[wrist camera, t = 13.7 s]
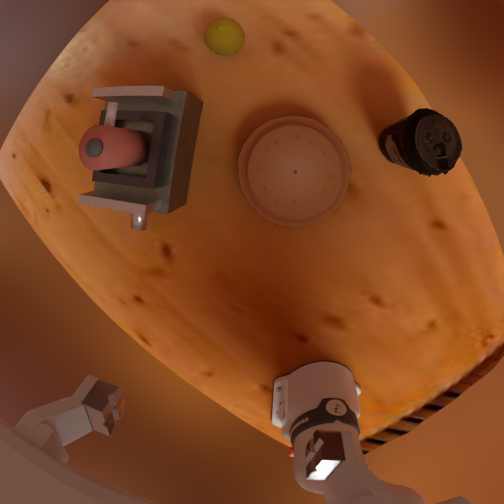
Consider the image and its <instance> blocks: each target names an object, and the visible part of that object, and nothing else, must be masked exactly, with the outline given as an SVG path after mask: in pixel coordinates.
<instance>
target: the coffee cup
mask: <svg viewBox="0 0 504 504" xmlns="http://www.w3.org/2000/svg"><path fill="white" fill-rule="evenodd" d="M379 146H380V150H381V152H382V154H383V155H384V156H385V158H386V159H387V160H389V161H390V162H392V163H396V164H398V165H401V166H403V167H406V168H409V169H412V170H415V171H418V172H419V174H424V175H427V176H429V177H430V176H431V175H439V174H441V173H442V172H443V173H444V174H447V173H448V171H449V170H451V169H452V168H454V166H455V163H456V161H457V160H458V158H459V157H460V154H461V151H462V144H461V139H460V136H459V133H458V131H457V129H456V127H455V126H454V124H453V123H452V122H451V121H450V120H448V118H446V117H444V116H443V115H441V114H440V113H438V112H436V111H434V110H431V109H428V108H425V109H418V110H416V111H415V112H414V113H412V114H411V115H410V116H408V117H406V118H403V119H401V120H399V121H397V122H395V123H394V124H391V125H389V126H388V127H387V128H385V129H384V130H383V132H382V133H381V135H380V137H379Z"/></svg>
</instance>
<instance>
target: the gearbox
mask: <svg viewBox="0 0 504 504" xmlns="http://www.w3.org/2000/svg"><path fill="white" fill-rule="evenodd" d="M91 97H93V98H97V99H101V100H105V101H106V105H105V110H104V111H101V117H100V122H99V125H103V126H104V123H105V117H106V112H107V106H108V102H117V103H119V104H118V109H117V114H116V120H115V126H114V127H118V128H125V129H132V130H138V131H142V132H144V133H145V134H146V135H147V136H148V138H149V140H150V143H151V146H150V152H149V156H148V158H147V159H146V161H145V162H143V163H142V164H140V165H138V166H131V167H121V168H112V169H103V170H93V178H92V181H95V188H94V191H91V192H87V193H83V194H79V204H83V205H88V206H94V207H100V208H105V209H111V210H117V211H122V212H128V213H132V218H131V229H133V230H145V229H146V224H147V214H149V213H151V212H154V211H155V212H161V213H166V214H168V213H170V212H172V211H174V210H176V209H178V208H180V207H181V206H183V205H185V204H186V201H187V194H188V187H189V180H190V174H191V167H192V161H193V155H194V149H195V143H196V138H197V132H198V127H199V122H200V116H201V111H202V106H203V102H202V101H201V100H199V99H198V98H197V97H195V96H194V95H193V94H191V93H190V92H188V91H181V90H170V89H169V88H167V87H166V86H116V87H99V88H93V91H92V96H91Z"/></svg>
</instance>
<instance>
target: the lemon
mask: <svg viewBox="0 0 504 504" xmlns="http://www.w3.org/2000/svg"><path fill="white" fill-rule="evenodd" d="M204 38H205V42H206V44H207V46H208V47H209V48H210V49H211V50H212V51H213V52H215V53H217V54H221V55H228V54H232V53H235V52H236V51H238V50H239V49H240V48H241V46H242V45H243V43H244V39H245V37H244V31H243V29H242V27H241V26H240V25H239V23H237V22H236V21H234V20H232V19H230V18H219V19H216V20H214V21H212V22H211V23H209V25H208V26H207V27H206V29H205V34H204Z"/></svg>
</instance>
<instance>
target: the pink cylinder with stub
mask: <svg viewBox="0 0 504 504" xmlns="http://www.w3.org/2000/svg"><path fill="white" fill-rule="evenodd" d="M118 104H119V103H117V102H108V106H107V112H106V117H105V123H104V126H103V125H96V126H93V127H91V128H90V129H88V130H87V131H86V132H85V134H84V135H83V137H82V139H81V142H80V146H79V155H80V159H81V161H82V163H83V165H84V166H85V167H86V168H88V169H90V170H103V169H112V168H121V167H131V166H138V165H140V164H142V163H143V162H145V161H146V159H147V158H148V156H149V152H150V146H151V143H150V140H149V138H148V136H147V135H146V134H145V133H144V132H142V131H138V130H132V129H125V128H118V127H114V126H115V120H116V114H117V109H118Z"/></svg>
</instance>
